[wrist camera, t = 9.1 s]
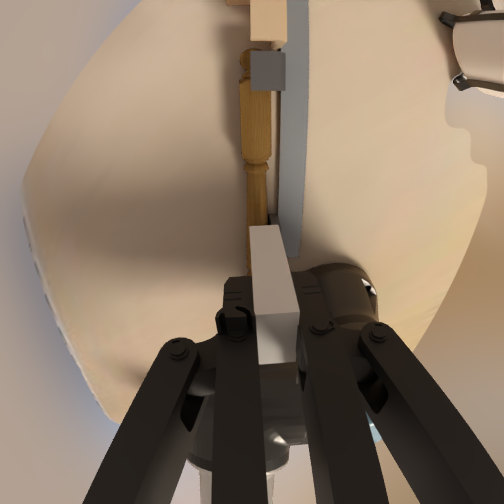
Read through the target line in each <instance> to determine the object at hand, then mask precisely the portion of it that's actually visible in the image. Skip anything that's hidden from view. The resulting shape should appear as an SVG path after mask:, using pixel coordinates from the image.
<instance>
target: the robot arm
mask: <svg viewBox="0 0 504 504" xmlns="http://www.w3.org/2000/svg"><path fill="white" fill-rule="evenodd" d="M249 231H250V249H251V266H252V276H240V277H229V279H228V280H227V281H226V283H225V284H224V296H223V308H221V309H220V310H219V311H218V312H217V314H216V317H215V321H216V326H217V331H218V333H217V334H216V335H215V336H214V337H212V338H211V339H209V340H206V341H203V342H199V343H194V342H193V341H192V340H190V339H188V338H175V339H171V340H170V341H168V342H166V343H165V344H164V345H163V347H162V348H161V349H160V351H159V353H158V355H157V357H156V359H155V361H154V362H153V364H152V366H151V368H150V370H149V372H148V374H147V375H146V377H145V379H144V381H143V383H142V385H141V387H140V389H139V390H138V392H137V394H136V396H135V398H134V400H133V402H132V404H131V406H130V408H129V410H128V412H127V413H126V415H125V417H124V419H123V421H122V423H121V425H120V427H119V429H118V431H117V433H116V435H115V437H114V439H113V441H112V443H111V445H110V447H109V449H108V451H107V453H106V455H105V457H104V459H103V461H102V463H101V465H100V468H99V470H98V472H97V474H96V476H95V478H94V480H93V482H92V484H91V486H90V489H89V491H88V493H87V495H86V497H85V499H84V501H83V503H82V504H170V503H171V500H172V497H173V494H174V492H175V489H176V486H177V484H178V481H179V478H180V476H181V473H182V470H183V467H184V465H185V461H186V459H187V461H188V462H189V463H190V464H191V465H192V466H193V467H195V468H196V469H198V470H199V471H200V496H201V504H272V503H273V488H274V473H276V472H278V471H279V470H281V469H282V468H283V467H285V465H286V464H287V463H288V459H289V448H290V446H291V445H301V444H308V445H309V452H310V459H311V466H312V473H313V481H314V487H315V495H316V503H317V504H389V501H388V496H387V492H386V488H385V483H384V479H383V475H382V471H381V467H380V463H379V459H378V455H377V452H376V447H375V443H376V442H378V441H379V440H381V439H383V441H384V443H385V444H386V446H387V448H388V449H389V451H390V453H391V454H392V456H393V458H394V459H395V461H396V463H397V464H398V466H399V468H400V470H401V471H402V473H403V475H404V476H405V478H406V480H407V481H408V483H409V485H410V487H411V488H412V490H413V492H414V493H415V495H416V497H417V499H418V500H419V502H420V504H504V477H503V476H502V474H501V473H500V471H499V469H498V468H497V466H496V465H495V463H494V462H493V460H492V459H491V458H490V456H489V454H488V453H487V451H486V450H485V448H484V447H483V445H482V444H481V442H480V441H479V440H478V439H477V437H476V435H475V434H474V433H473V431H472V430H471V429H470V427H469V425H468V424H467V423H466V421H465V420H464V419H463V417H462V416H461V415H460V413H459V412H458V410H457V409H456V408H455V407H454V405H453V404H452V403H451V401H450V400H449V399H448V397H447V396H446V395H445V393H444V392H443V391H442V389H441V388H440V387H439V385H438V384H437V383H436V382H435V380H434V379H433V378H432V376H431V375H430V374H429V373H428V372H427V370H426V369H425V368H424V366H423V365H422V364H421V363H420V362H419V360H418V359H417V358H416V357H415V355H414V354H413V353H412V352H411V350H410V349H409V348H408V347H407V346H406V344H405V343H404V342H403V341H402V340H401V338H400V337H399V336H398V335H397V334H396V332H395V331H394V330H393V329H392V328H391V327H390V326H388V325H387V324H384V323H382V322H379V319H378V303H377V294H376V290H375V288H374V286H373V284H372V282H371V280H370V279H369V277H368V276H367V274H366V273H365V272H363V271H362V270H361V269H359V268H357V267H355V266H352V265H348V264H341V263H335V264H326V265H322V266H319V267H316V268H313V269H311V270H309V271H305V272H290V269H289V265H288V261H287V257H286V253H285V249H284V245H283V241H282V237H281V233H280V229H279V226H278V225H263V226H249Z"/></svg>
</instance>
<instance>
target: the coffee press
mask: <svg viewBox="0 0 504 504" xmlns="http://www.w3.org/2000/svg"><path fill="white" fill-rule="evenodd" d="M480 3H481V9H482V10H477V11H474V12H472V13H467V14H464V15H462V16H455V15H453V14H450V13H447V12H442V13H441V15H440V17H439V20H440V21H441V22H442V23H443V24H445V25H447V26H449V27H450V28H452V29H453V47H454V52H455V55H456V58H457V61H458V64H459V66H460V68H461V70H462V71H463V73H462V74H461V75H459V76H457V77H456V78H455V79H454V80H453V84H454V85H455V86H456V87H457V88H458V89H459V91H463V90H465V89H467V88H470V87H476V88H477V89H478V90H480V91H482V92H483V93H486V94H489V95H493V96H497V97H500V98H504V10H495V8H494V6H493V3H492V0H480ZM455 22H456V23H455Z"/></svg>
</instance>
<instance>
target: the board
mask: <svg viewBox="0 0 504 504" xmlns="http://www.w3.org/2000/svg"><path fill="white" fill-rule="evenodd" d="M226 2H227V5H250V40H251V41H271V48H276V49H280V51H250V77H251V91H280V146H279V187H278V214H270V215H269V225H278V226H279V229H280V233H281V237H282V241H283V245H284V249H285V253H286V257H287V258H292V257H299V250H300V239H301V227H302V215H303V201H304V187H305V170H306V152H307V129H308V98H309V6H308V0H226Z"/></svg>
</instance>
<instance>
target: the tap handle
mask: <svg viewBox="0 0 504 504" xmlns="http://www.w3.org/2000/svg"><path fill="white" fill-rule="evenodd" d="M250 51H262V50H260V49H255V48H253V49H248V50H246V51H244V52H243V53H242V54H241V56H240V64H241V66H242V67H243V68H244V69H246V72H245V74H244V75H242V78H243V79H241V80H239V87H240V118H241V146H242V158H244V160H245V161H247V162H246V163H245V165H244V170H246V171H247V261H248V262H247V268H248V269H250V271H249V272H248V275H247V276H252V266H251V249H250V231H249V226H263V225H268V218H267V194H266V170H268V169H269V167H268V164H267V163H266V160H268V159H269V157H271V91H251V77H250Z"/></svg>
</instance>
